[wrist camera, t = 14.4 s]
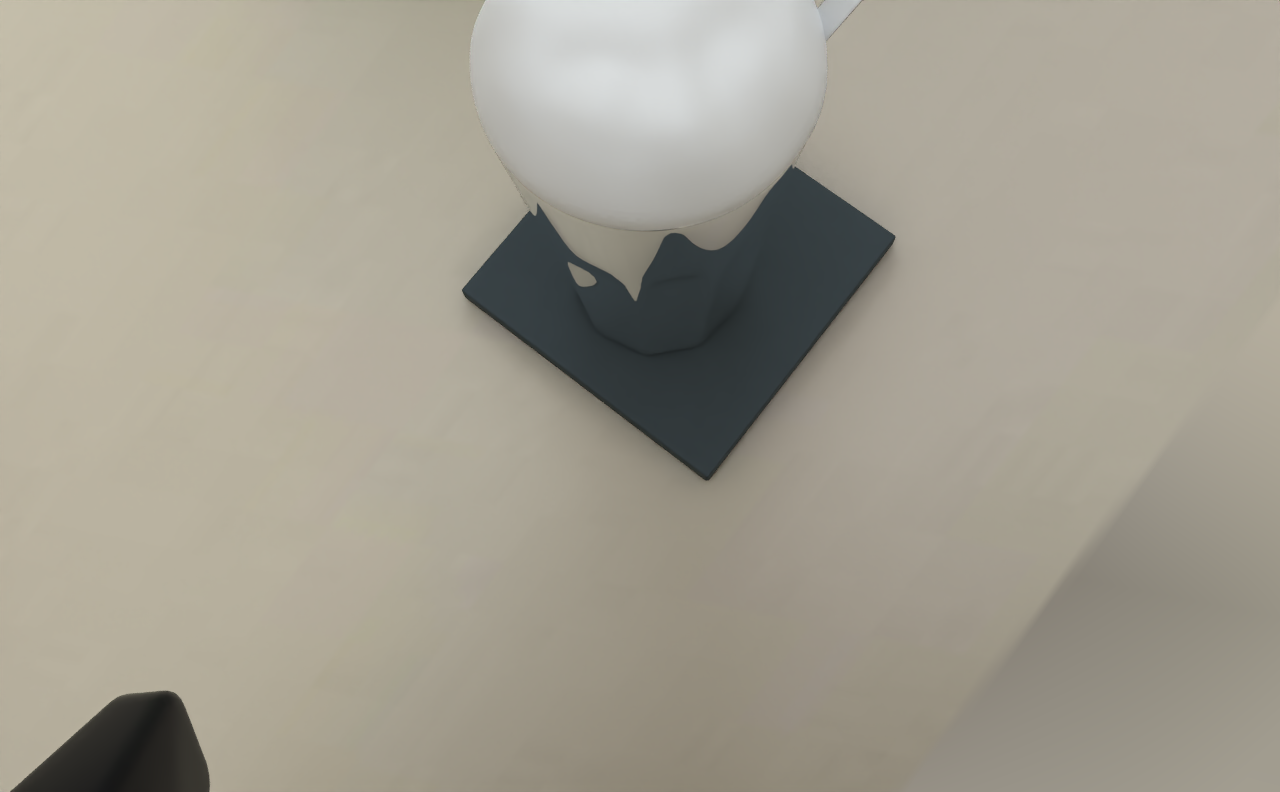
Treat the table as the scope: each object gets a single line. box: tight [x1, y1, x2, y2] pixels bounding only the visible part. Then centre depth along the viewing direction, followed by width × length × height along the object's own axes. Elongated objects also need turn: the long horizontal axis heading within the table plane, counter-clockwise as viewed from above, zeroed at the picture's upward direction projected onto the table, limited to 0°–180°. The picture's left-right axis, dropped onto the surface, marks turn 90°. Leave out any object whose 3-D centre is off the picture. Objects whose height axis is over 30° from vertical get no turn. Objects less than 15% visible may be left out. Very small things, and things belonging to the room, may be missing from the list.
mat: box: [462, 167, 895, 480], centre depth 23 cm, size 6×6×1 cm
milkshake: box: [470, 0, 863, 356], centre depth 18 cm, size 4×5×10 cm
